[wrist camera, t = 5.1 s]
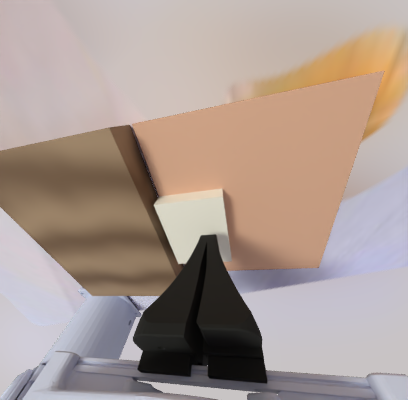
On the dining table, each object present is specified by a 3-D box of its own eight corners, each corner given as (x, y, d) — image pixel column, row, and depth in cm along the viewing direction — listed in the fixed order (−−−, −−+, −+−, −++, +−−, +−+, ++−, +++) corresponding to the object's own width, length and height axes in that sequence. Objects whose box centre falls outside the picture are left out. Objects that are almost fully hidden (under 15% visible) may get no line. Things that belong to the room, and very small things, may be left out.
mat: (316, 263, 18) (318, 267, 17) (188, 268, 20) (187, 271, 20) (376, 72, 9) (384, 70, 8) (135, 123, 11) (132, 124, 11)
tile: (230, 250, 17) (231, 261, 16) (181, 253, 18) (178, 263, 17) (222, 188, 13) (222, 196, 12) (159, 196, 14) (153, 204, 13)
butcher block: (187, 277, 21) (184, 295, 19) (103, 279, 24) (92, 296, 21) (129, 124, 11) (109, 127, 9) (-6, 153, 14) (-48, 161, 12)
